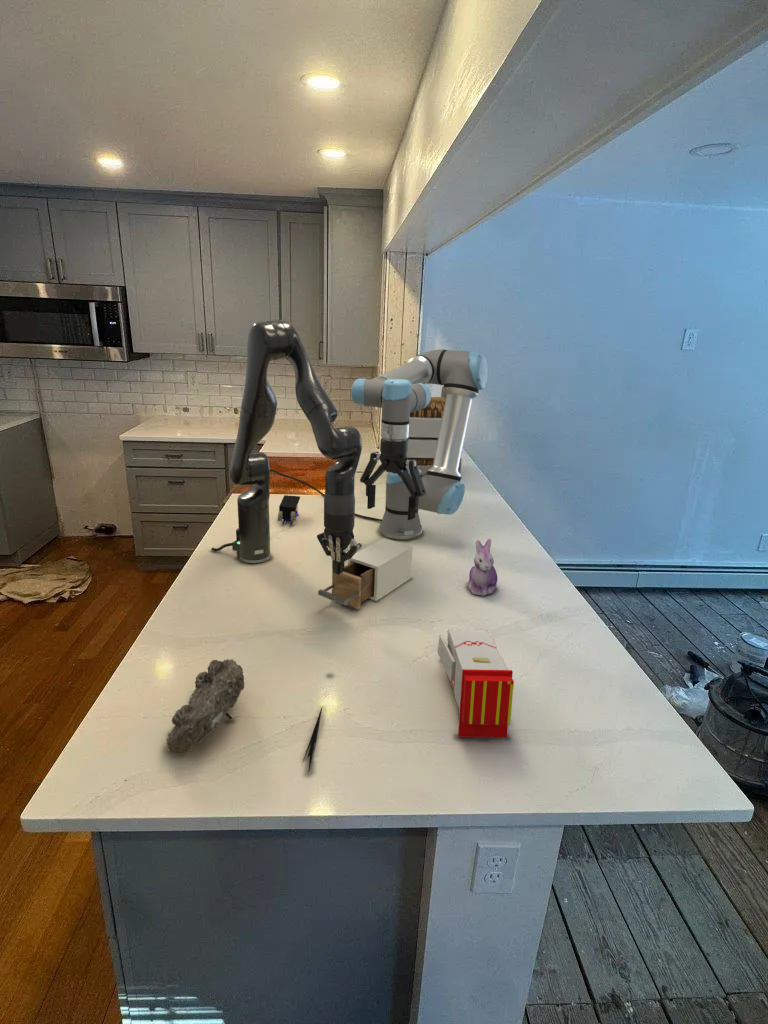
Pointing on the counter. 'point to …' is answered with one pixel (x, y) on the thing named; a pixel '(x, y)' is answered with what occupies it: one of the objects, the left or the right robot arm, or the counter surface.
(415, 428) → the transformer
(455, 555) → the counter surface
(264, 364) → the left robot arm
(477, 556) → the figurine
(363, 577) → the drawer
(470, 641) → the toy
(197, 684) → the fossil
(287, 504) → the figurine character
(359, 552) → the cabinet
